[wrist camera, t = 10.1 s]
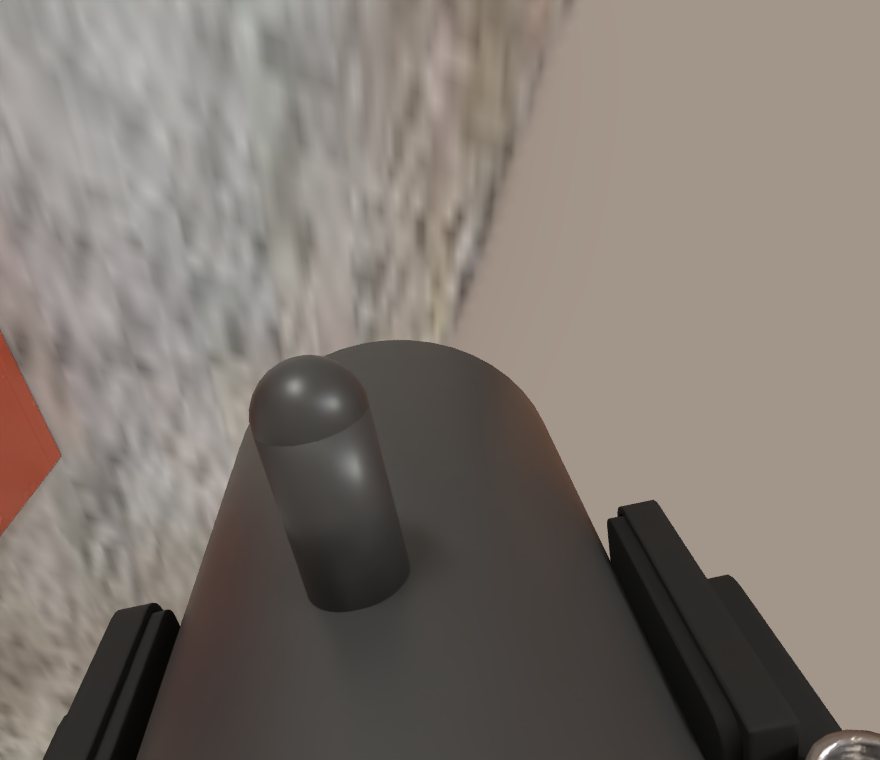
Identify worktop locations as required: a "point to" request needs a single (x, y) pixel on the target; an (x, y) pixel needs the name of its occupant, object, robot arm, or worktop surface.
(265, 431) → the mug
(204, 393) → the worktop surface
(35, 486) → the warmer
